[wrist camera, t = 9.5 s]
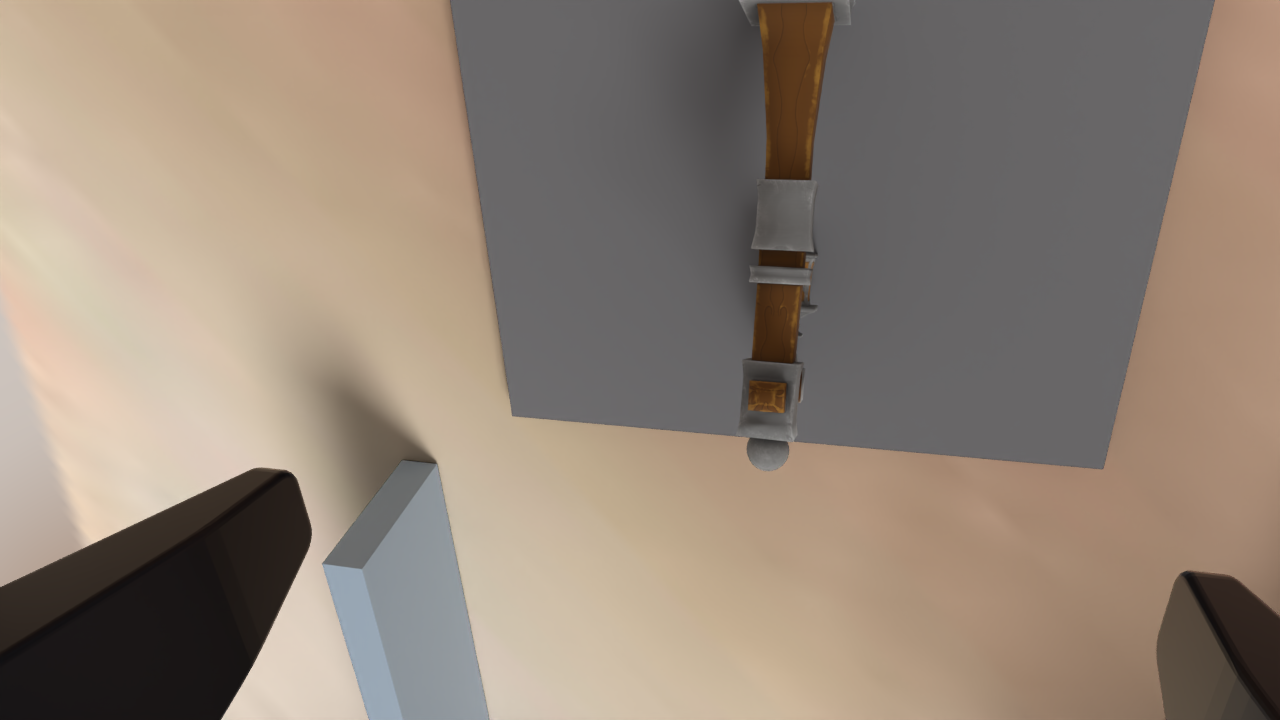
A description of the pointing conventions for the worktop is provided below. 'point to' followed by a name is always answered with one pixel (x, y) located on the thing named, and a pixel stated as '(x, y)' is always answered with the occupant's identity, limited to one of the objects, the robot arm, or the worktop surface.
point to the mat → (832, 212)
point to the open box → (406, 604)
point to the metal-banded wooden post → (784, 217)
